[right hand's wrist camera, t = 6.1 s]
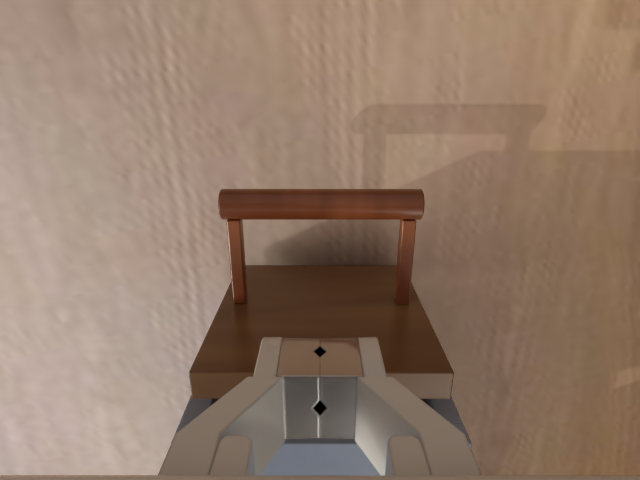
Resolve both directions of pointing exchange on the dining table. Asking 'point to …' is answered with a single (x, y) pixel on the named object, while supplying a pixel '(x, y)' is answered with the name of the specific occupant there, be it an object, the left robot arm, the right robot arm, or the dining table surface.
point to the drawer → (321, 293)
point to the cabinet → (323, 446)
